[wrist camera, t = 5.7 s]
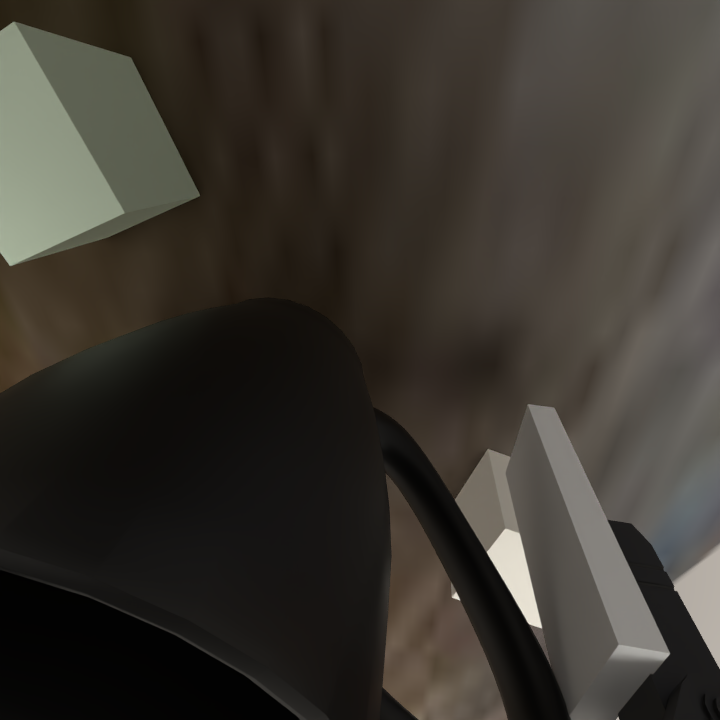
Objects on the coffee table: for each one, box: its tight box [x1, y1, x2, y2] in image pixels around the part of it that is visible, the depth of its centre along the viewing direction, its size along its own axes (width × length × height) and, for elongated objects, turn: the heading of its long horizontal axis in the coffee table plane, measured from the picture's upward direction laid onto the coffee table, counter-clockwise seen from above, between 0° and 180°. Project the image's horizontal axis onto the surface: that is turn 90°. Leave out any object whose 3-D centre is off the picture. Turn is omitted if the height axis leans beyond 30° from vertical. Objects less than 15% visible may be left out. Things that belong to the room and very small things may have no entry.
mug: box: [0, 298, 571, 720], centre depth 10 cm, size 8×12×10 cm
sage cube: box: [0, 22, 200, 266], centre depth 15 cm, size 5×5×5 cm
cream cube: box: [451, 449, 542, 628], centre depth 20 cm, size 5×5×5 cm
